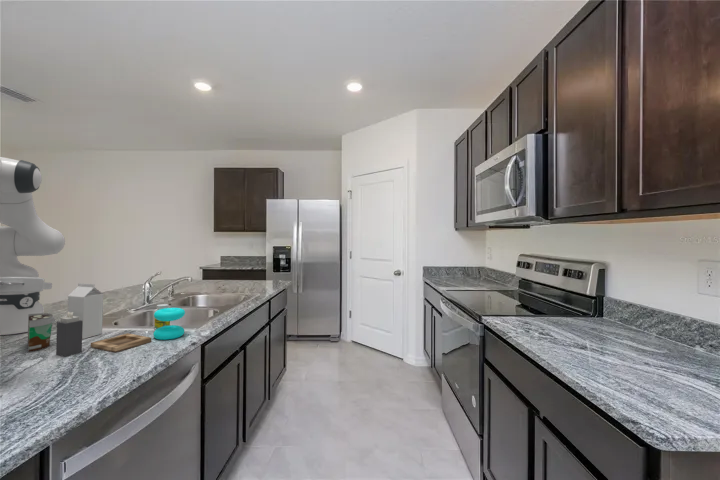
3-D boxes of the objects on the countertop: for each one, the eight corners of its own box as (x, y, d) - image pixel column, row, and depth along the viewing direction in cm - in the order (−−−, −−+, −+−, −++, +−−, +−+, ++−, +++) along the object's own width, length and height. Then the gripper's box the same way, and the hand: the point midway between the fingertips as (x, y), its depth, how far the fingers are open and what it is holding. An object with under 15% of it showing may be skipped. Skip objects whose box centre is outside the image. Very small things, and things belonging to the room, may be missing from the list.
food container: (56, 348, 105) (56, 317, 105) (28, 353, 100) (29, 321, 100) (52, 339, 113) (53, 311, 113) (27, 343, 109) (28, 313, 109)
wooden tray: (90, 347, 107) (90, 342, 107) (127, 337, 118) (127, 332, 118) (115, 352, 103) (115, 347, 103) (151, 341, 114) (151, 337, 114)
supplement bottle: (171, 326, 133) (172, 303, 133) (167, 330, 128) (167, 306, 128) (157, 327, 132) (157, 303, 132) (151, 331, 127) (152, 306, 127)
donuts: (174, 313, 115) (147, 312, 116) (174, 341, 116) (146, 340, 116) (190, 307, 125) (165, 306, 126) (189, 333, 125) (164, 332, 126)
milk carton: (82, 339, 114) (84, 285, 114) (66, 337, 116) (68, 284, 116) (102, 333, 121) (103, 283, 121) (86, 332, 123) (88, 282, 123)
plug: (56, 354, 100) (57, 313, 100) (72, 350, 104) (73, 310, 104) (65, 356, 98) (66, 314, 98) (81, 352, 103) (82, 311, 102)
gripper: (5, 270, 78) (67, 273, 91) (-58, 274, 82) (10, 277, 95) (1, 296, 77) (64, 296, 90) (-63, 299, 80) (7, 299, 94)
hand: (36, 286), depth 92 cm, fingers open, 8 cm apart
